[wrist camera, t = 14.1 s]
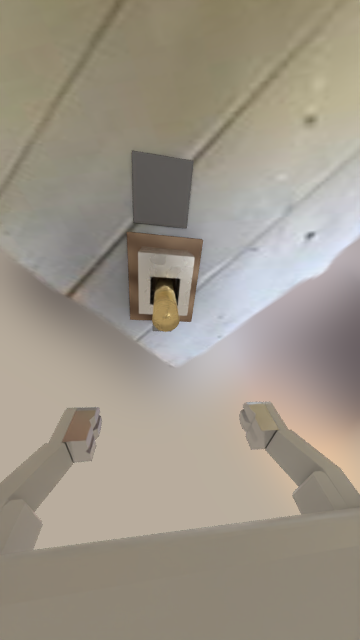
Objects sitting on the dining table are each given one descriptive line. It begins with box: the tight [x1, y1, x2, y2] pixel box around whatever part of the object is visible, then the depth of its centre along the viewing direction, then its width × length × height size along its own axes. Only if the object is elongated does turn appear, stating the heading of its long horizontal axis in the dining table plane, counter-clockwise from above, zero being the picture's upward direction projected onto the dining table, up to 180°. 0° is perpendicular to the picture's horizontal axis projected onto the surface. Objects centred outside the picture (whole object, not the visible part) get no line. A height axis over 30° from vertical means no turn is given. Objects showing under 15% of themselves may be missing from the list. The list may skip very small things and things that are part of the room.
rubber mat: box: [132, 151, 193, 228], centre depth 28 cm, size 9×9×1 cm
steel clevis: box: [138, 246, 195, 331], centre depth 31 cm, size 14×8×7 cm, turn 175°
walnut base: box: [127, 232, 203, 322], centre depth 34 cm, size 16×13×2 cm
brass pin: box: [152, 277, 179, 332], centre depth 26 cm, size 3×3×16 cm
